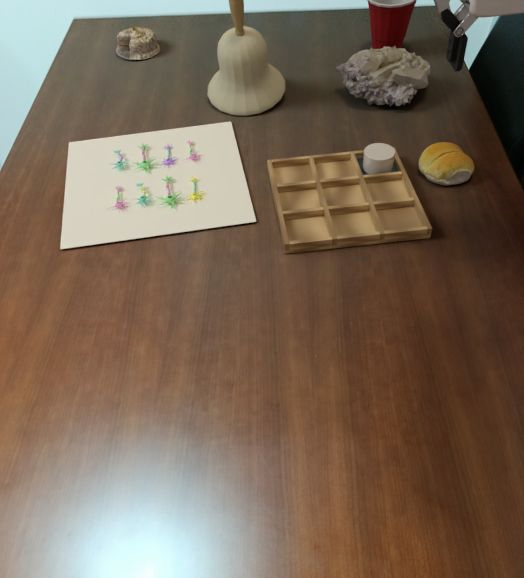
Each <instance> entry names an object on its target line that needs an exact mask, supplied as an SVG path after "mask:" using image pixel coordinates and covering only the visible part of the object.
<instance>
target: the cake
mask: <svg viewBox="0 0 524 578" xmlns="http://www.w3.org/2000/svg"><path fill="white" fill-rule="evenodd" d="M158 41H159V40H158V38H157V35H156V34H155V32H154V31H153V30H152V29H150V28H147V27H144V26H142V27H140V26H138V27H137V26H133V27H128V28H127V29H123V30H121V31H119V32H118V33H117V35H116V42H117V44H116V48H115V54H116V55H117V56H118V57H120V58H122V59H125V60H129V61H136V60H137V61H140V60H147V59H150V58H153V57H155V56H157V55H158V54H159V53H160V52H161V46H160V45H159V43H158Z"/></svg>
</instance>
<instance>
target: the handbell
mask: <svg viewBox="0 0 524 578" xmlns="http://www.w3.org/2000/svg"><path fill="white" fill-rule="evenodd" d="M228 5H229V10H230V11H229V12H230V15H231V19H232V23H233V25H234V26H233V27H232V28H229V29H228V30H226V31H225V32H224V33H223V34H222V35H221V37H220V39H219V41H218V43H217V47H216V48H217V49H216V57H217V62H218V67H219V70H218V71H217V72H215V73H214V75H213V76H212V78H211V80H210V81H209V83H208V85H207V97H208V99H209V101H210V103H211V105H212V106H213V107H215V108H216V109H217V110H219V111H220V112H222V113H225V114H228V115H231V116H238V117H249V116H254V115H259V114H261V113H264V112H266V111H268V110H271V109H272V108H273V107H274V106H276V104H278V103H279V102H280V101H281V100H282V98H283V96H284V94H285V92H286V79H285V78H284V76H283V75H282V73H281V71H280V70H279V69H278V68H276V67H275V66H273V65H271V64H270V63H269V60H268V45H267V42H266V40H265V38H264V37H263V35H262V33H261V32H260V31H259V30H257V29H255V28H254V27H252V26H251V27H250V26H248V25H245V23H244V22H245V21H244V20H245V1H244V0H228Z"/></svg>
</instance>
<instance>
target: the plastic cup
mask: <svg viewBox="0 0 524 578" xmlns="http://www.w3.org/2000/svg"><path fill="white" fill-rule="evenodd" d="M366 1H367V5H368V10H369V24H370V36H371V47H372V48H373V49H381V48H383V47H392V48H393V47H394V46H396V49H398V48H402V47H403V45H404V42H405V41H404V40H405V38H406V35H407V32H408V28H409V26H410V21H411V18H412V15H413V11H414V9H415V6H416V4H417V1H418V0H366Z"/></svg>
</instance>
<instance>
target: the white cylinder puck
mask: <svg viewBox="0 0 524 578" xmlns="http://www.w3.org/2000/svg"><path fill="white" fill-rule="evenodd" d="M393 147H394V146H392V145H390V144H388V143H383V142H375V143H370V144H368V145H366V146H365V147H364V149H363V150H364V156H363V166H362V168H363V170H364V171H365V172H366V173H367V174H380V173H389V172H391V171H392V170H393V164H394V158H395V150H394V148H393Z"/></svg>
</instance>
